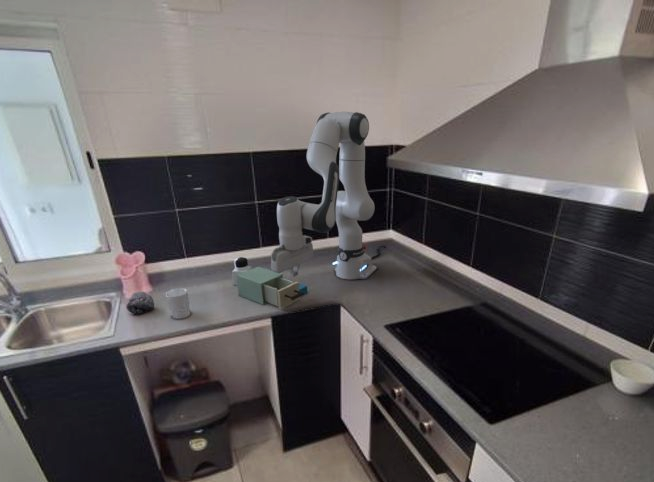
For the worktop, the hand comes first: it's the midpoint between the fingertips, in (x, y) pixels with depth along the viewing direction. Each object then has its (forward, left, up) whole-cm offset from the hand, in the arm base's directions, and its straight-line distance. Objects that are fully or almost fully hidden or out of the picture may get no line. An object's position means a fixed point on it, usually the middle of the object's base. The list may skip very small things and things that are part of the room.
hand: (294, 275), depth 150 cm
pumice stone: (+40, -50, -14) cm, 66 cm away
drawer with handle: (0, -8, -13) cm, 15 cm away
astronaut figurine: (-4, -38, -14) cm, 41 cm away
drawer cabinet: (0, -21, -14) cm, 25 cm away
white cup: (+32, -33, -14) cm, 48 cm away
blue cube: (-11, -8, -14) cm, 19 cm away
